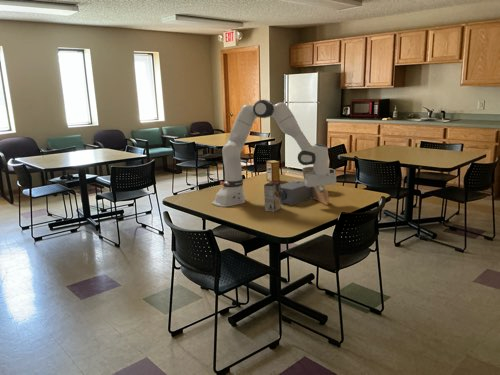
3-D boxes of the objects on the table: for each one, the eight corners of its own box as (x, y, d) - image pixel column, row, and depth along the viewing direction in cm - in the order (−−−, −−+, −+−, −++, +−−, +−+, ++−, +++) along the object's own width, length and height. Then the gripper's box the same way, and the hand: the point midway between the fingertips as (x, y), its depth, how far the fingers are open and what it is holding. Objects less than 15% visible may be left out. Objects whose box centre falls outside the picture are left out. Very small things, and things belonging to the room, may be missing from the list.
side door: (329, 204, 248) (329, 190, 246) (326, 205, 247) (326, 190, 245) (315, 197, 266) (315, 183, 264) (312, 197, 266) (312, 184, 264)
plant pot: (310, 187, 296) (310, 165, 292) (328, 190, 286) (328, 167, 282) (298, 191, 286) (297, 168, 282) (315, 194, 275) (315, 171, 272)
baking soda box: (279, 181, 318) (279, 161, 314) (272, 182, 315) (271, 162, 312) (273, 179, 326) (273, 159, 323) (266, 180, 324) (266, 160, 320)
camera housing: (289, 205, 250) (289, 188, 248) (272, 202, 260) (272, 185, 257) (313, 197, 266) (313, 181, 264) (296, 194, 276) (296, 179, 274)
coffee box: (272, 206, 249) (271, 181, 246) (281, 208, 246) (280, 182, 242) (264, 210, 242) (263, 184, 238) (274, 212, 239) (273, 185, 235)
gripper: (307, 173, 241) (307, 195, 244) (337, 169, 247) (337, 192, 250) (302, 171, 246) (302, 193, 250) (332, 168, 253) (332, 189, 256)
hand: (320, 192), depth 250 cm, fingers closed
